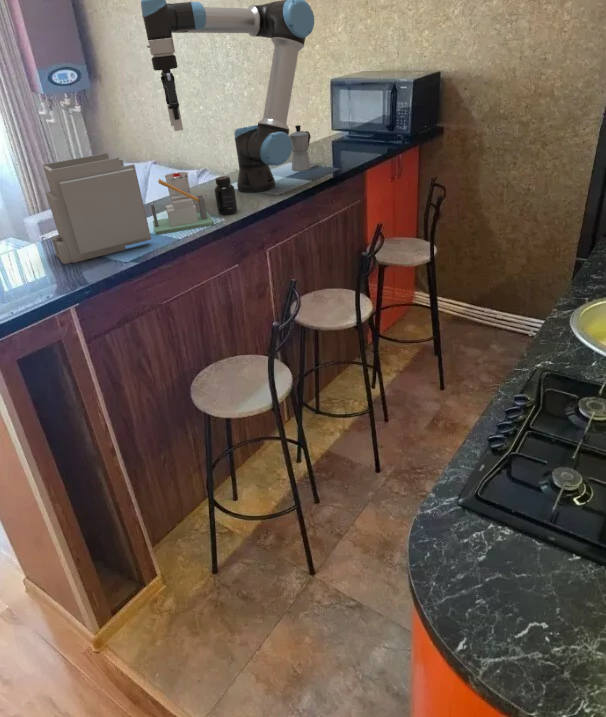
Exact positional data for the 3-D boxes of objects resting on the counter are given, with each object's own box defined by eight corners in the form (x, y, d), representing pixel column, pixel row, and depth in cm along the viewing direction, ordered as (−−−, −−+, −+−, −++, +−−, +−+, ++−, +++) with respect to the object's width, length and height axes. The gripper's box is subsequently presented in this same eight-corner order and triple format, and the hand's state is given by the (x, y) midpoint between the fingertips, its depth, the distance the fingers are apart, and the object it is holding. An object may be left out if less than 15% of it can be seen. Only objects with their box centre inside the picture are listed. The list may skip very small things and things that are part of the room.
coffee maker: (302, 172, 245) (298, 128, 236) (285, 172, 250) (280, 128, 241) (320, 165, 256) (316, 121, 247) (303, 164, 260) (299, 122, 251)
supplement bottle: (216, 212, 202) (210, 177, 196) (234, 208, 204) (229, 174, 198) (221, 216, 196) (215, 181, 190) (240, 213, 198) (235, 177, 192)
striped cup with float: (188, 211, 206) (182, 177, 200) (166, 212, 208) (159, 178, 202) (198, 203, 215) (192, 170, 209) (177, 204, 216) (170, 172, 210)
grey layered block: (54, 252, 178) (26, 166, 165) (137, 232, 189) (117, 149, 176) (66, 267, 165) (37, 174, 152) (154, 244, 176) (134, 156, 163)
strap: (200, 201, 192) (202, 197, 192) (202, 204, 189) (204, 200, 189) (158, 181, 186) (159, 177, 185) (158, 183, 182) (160, 179, 182)
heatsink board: (207, 214, 200) (203, 190, 196) (214, 224, 188) (209, 199, 184) (153, 223, 196) (147, 199, 192) (155, 234, 184) (150, 208, 180)
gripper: (149, 56, 188) (163, 125, 199) (153, 57, 167) (168, 134, 177) (172, 53, 189) (184, 122, 200) (178, 54, 168) (192, 131, 179)
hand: (177, 128), depth 189 cm, fingers open, 13 cm apart
